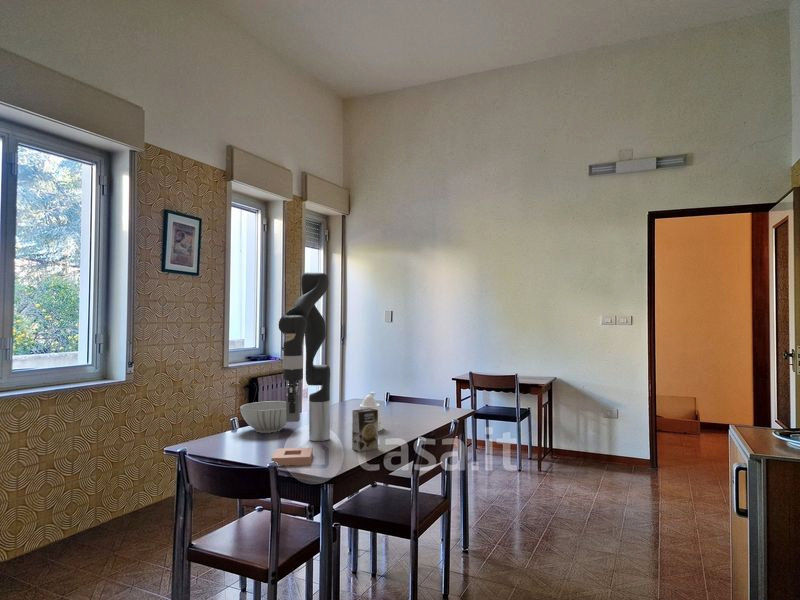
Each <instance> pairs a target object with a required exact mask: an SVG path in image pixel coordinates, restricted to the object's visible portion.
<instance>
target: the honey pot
mask: <svg viewBox="0 0 800 600" xmlns="http://www.w3.org/2000/svg"><path fill="white" fill-rule="evenodd" d="M375 395H376V391H370V394H367V395H366V396H365V397H364V399H363V400H362V403H360V404H359V407H360V408H359V410H360V409H368V408H371V409H376V410H378V432H380V430H381V431H383V417H382V413H381V410H380V408H379V407H380V406H381V405H380V404H379V403H377V401H376V399H375Z"/></svg>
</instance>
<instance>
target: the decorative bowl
mask: <svg viewBox="0 0 800 600" xmlns="http://www.w3.org/2000/svg"><path fill="white" fill-rule="evenodd" d="M239 411H240V414H241V416H242V418H243V420H244V421H245V422H246V424H247V425H248V426H249V427H251V428H252V429H254V430H255V432H256V433H258V432H260V433H259V434H271V432H273V433H278V432H280V430H281V431H282V429H283V427H285V426H286V425H287V424H288V423H289V422H286V401H285V400H283V401H282V400H270V401H267V400H266V401H258V402H257V401H255V402H251V403H250V402H249V403H246V404H242V405H241V406H239ZM277 431H278V432H277Z"/></svg>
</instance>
